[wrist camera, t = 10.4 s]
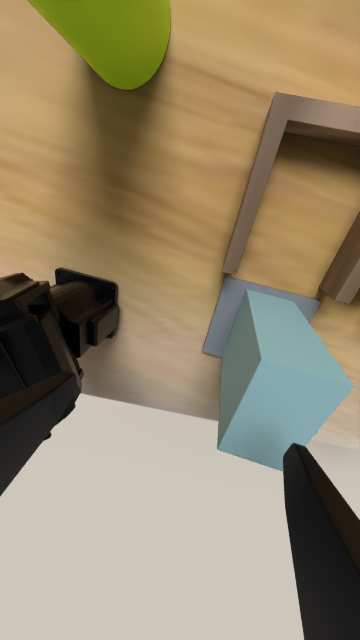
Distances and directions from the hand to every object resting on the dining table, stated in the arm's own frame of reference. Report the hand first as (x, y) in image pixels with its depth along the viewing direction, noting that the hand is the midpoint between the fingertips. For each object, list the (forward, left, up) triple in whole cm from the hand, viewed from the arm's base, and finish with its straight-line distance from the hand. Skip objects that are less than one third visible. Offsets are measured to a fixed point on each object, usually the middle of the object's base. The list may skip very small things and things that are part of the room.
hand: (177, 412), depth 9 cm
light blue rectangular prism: (+5, -1, -12) cm, 13 cm away
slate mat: (+5, -1, -13) cm, 14 cm away
